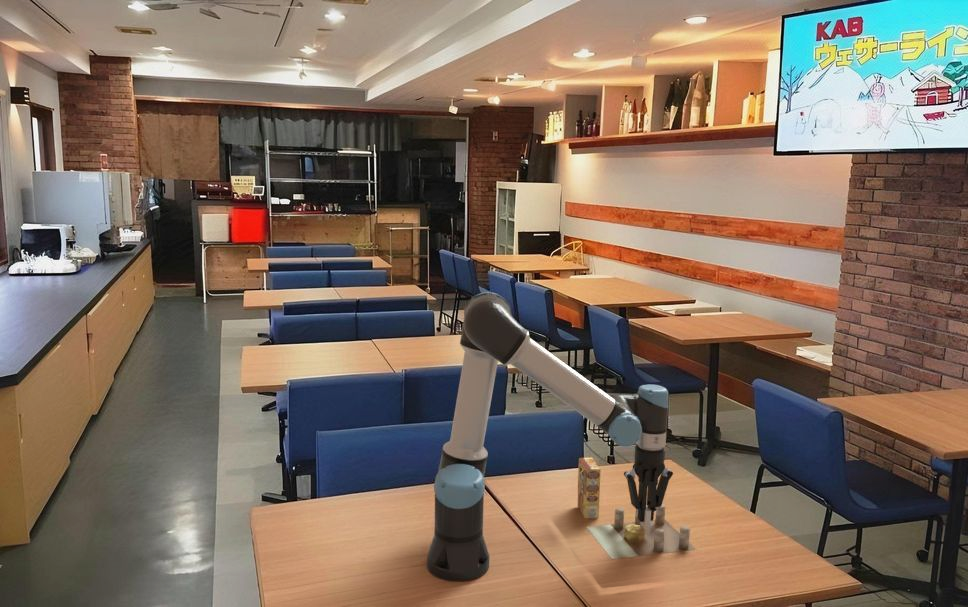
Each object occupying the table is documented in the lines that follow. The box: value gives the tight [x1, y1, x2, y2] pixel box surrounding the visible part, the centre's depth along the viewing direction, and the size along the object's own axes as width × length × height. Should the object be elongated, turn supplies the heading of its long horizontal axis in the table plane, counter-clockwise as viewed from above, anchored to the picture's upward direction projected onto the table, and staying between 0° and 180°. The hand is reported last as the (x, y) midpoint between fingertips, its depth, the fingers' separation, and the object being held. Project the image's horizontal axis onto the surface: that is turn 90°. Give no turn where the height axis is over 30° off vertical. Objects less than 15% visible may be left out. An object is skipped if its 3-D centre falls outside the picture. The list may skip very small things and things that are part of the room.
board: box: [586, 503, 698, 560], centre depth 190 cm, size 23×17×6 cm
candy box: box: [576, 457, 602, 519], centre depth 205 cm, size 9×4×15 cm, turn 8°
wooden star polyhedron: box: [624, 524, 645, 543], centre depth 190 cm, size 4×5×3 cm
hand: (644, 532), depth 191 cm, fingers closed
